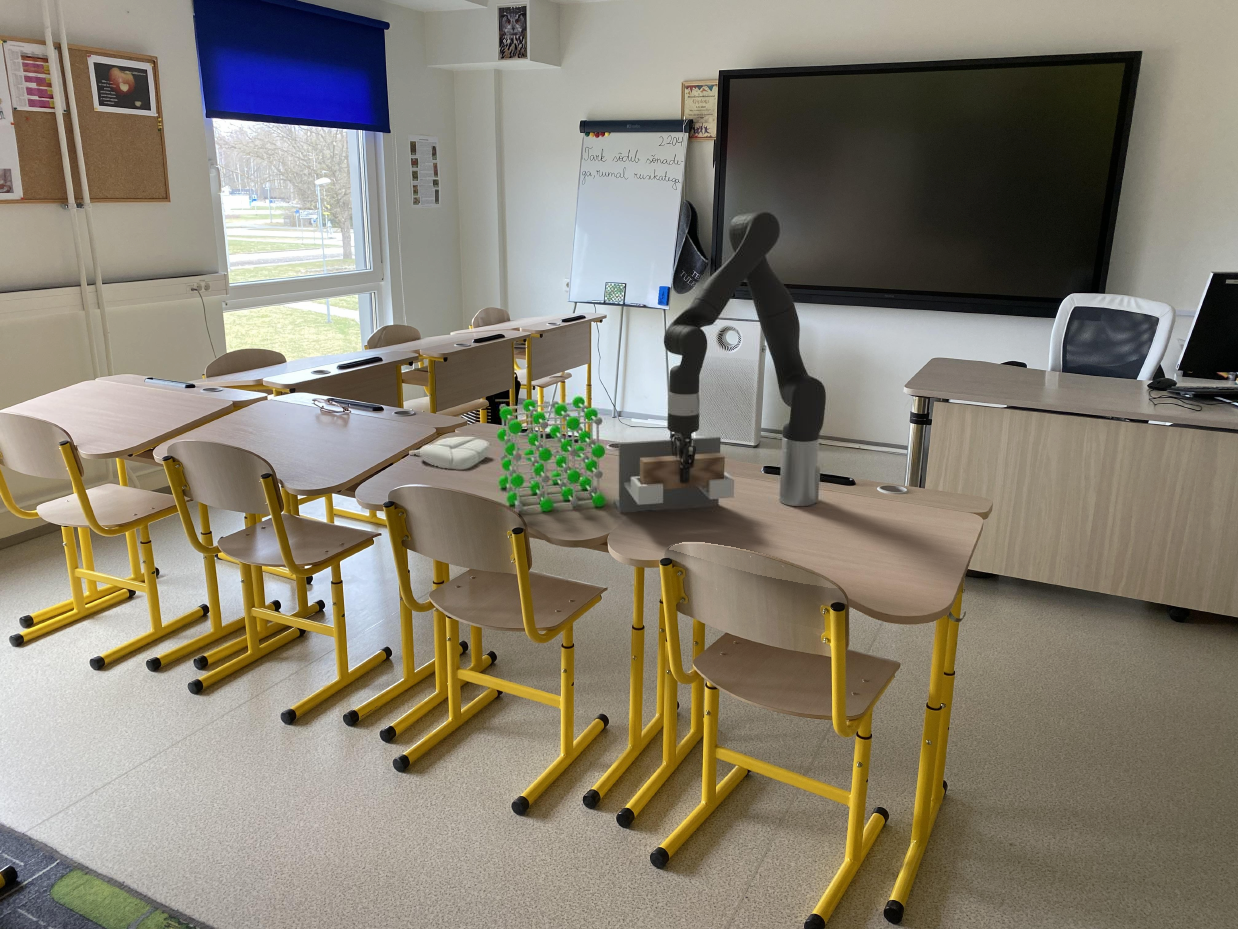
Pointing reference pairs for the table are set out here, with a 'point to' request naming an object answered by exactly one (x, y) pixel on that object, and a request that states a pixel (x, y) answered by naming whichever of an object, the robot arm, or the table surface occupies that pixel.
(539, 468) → the molecular structure model
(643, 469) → the rail
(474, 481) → the table surface
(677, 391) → the robot arm
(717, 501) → the rack
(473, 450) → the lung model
